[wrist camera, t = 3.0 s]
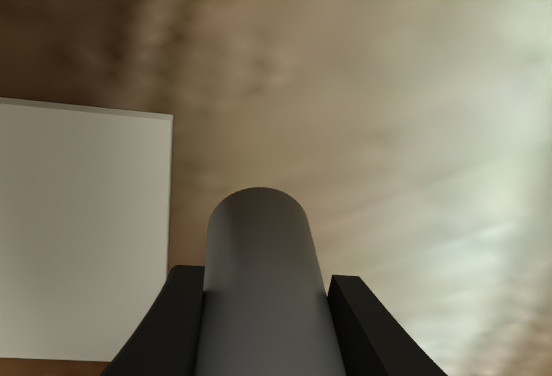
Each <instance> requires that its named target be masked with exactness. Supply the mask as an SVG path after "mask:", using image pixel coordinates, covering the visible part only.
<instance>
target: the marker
mask: <svg viewBox="0 0 552 376" xmlns="http://www.w3.org/2000/svg"><path fill="white" fill-rule="evenodd" d="M204 267H205V275H204V287H203V299H202V310H201V321H200V329H199V335H198V341H197V349H196V359H195V370H194V376H346V372H345V368H344V364H343V360H342V356H341V352H340V348H339V344H338V340H337V336H336V332H335V328H334V324H333V320H332V316H331V311H330V307H329V303H328V299H327V295H326V291H325V287H324V283H323V279H322V275H321V271H320V267H319V263H318V259H317V255H316V251H315V247H314V243H313V239H312V235H311V231H310V227H309V223H308V219H307V216H306V213H305V212H304V210H303V208H302V207H301V205H300V204H299V203H298V202H297V201H296V200H295V199H294V198H292V197H291V196H289V195H288V194H286V193H284V192H282V191H279V190H276V189H272V188H266V187H255V188H248V189H243V190H240V191H238V192H235V193H233V194H231V195H230V196H228V197H227V198H225V199H224V200H223V201H222V202H221V203H220V204H219V205H218V206H217V207H216V208H215V210H214V211H213V213H212V215H211V217H210V220H209V224H208V232H207V242H206V253H205V263H204Z"/></svg>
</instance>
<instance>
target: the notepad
mask: <svg viewBox="0 0 552 376" xmlns="http://www.w3.org/2000/svg"><path fill="white" fill-rule="evenodd" d="M172 141H173V115H170V114H160V113H150V112H140V111H130V110H121V109H111V108H101V107H91V106H81V105H71V104H62V103H52V102H42V101H32V100H22V99H13V98H3V97H0V357H4V358H30V359H57V360H83V361H109V362H111V361H112V360H113V359H114V357H115V356H116V355H117V354H118V352H119V351H120V350H121V348H122V347H123V346H124V345H125V343H126V342H127V341H128V339H129V338H130V337H131V335H132V334H133V333H134V331H135V330H136V328H137V327H138V325H139V324H140V322H141V321H142V319H143V318H144V316H145V315H146V313H147V312H148V311H149V309H150V308H151V306H152V304H153V303H154V301H155V299H156V298H157V296H158V294H159V293H160V291H161V289H162V287H163V285H164V284H165V282H166V280H167V271H168V245H169V219H170V193H171V167H172Z"/></svg>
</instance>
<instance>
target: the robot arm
mask: <svg viewBox="0 0 552 376" xmlns="http://www.w3.org/2000/svg"><path fill="white" fill-rule="evenodd" d="M204 275H205V267H204V266H188V265H176V266H174V267H173V268H172V269H171V270H170V273H169V275H168V278H167V280H166V282H165V284H164V285H163V287H162V289H161V291H160V293H159V294H158V296H157V298H156V299H155V301H154V303H153V304H152V306H151V308H150V309H149V311H148V312H147V313H146V315H145V316H144V318H143V319H142V321H141V322H140V324H139V325H138V327H137V328H136V330H135V331H134V333H133V334H132V335H131V337H130V338H129V339H128V341H127V342H126V343H125V345H124V346H123V347H122V348H121V350H120V351H119V352H118V354H117V355H116V356H115V357H114V359H113V360H112V361H111V363H110V364H109V365H108V366H107V368H106V369H105V370H104V371H103V372H102V373H101V375H100V376H194V370H195V359H196V349H197V341H198V335H199V329H200V321H201V310H202V299H203V287H204ZM327 299H328V303H329V307H330V311H331V316H332V320H333V324H334V328H335V332H336V336H337V340H338V344H339V348H340V352H341V356H342V360H343V364H344V368H345V372H346V376H448V375H447V374H446V373H445V372H444V371H443V370H442V369H441V368H440V367H439V366H438V365H437V364H436V363H435V362H434V361H433V360H432V359H431V358H430V357H429V356H428V355H427V354H426V353H425V352H424V351H423V350H422V349H421V348H420V347H419V346H418V344H417V343H416V342H415V341H414V340H413V339H412V338H411V337H410V336H409V335H408V333H407V332H406V331H405V330H404V329H403V328H402V327H401V325H400V324H399V323H398V322H397V321H396V320H395V319H394V317H393V316H392V315H391V314H390V313H389V312H388V310H387V309H386V308H385V307H384V306H383V304H382V303H381V302H380V301H379V300H378V298H377V297H376V296H375V295H374V294H373V292H372V291H371V290H370V289H369V288H368V286H367V285H366V284H365V283H364V282H363V281H362V279H361V278H360V277H359V276H345V275H332V279H331V283H330V287H329V292H328V296H327Z"/></svg>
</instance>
